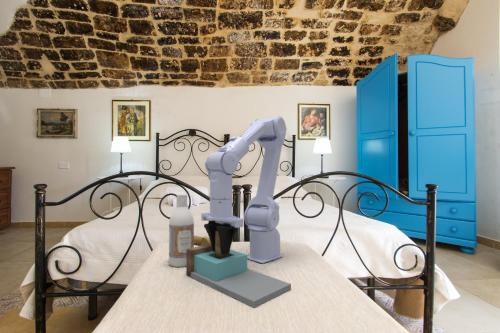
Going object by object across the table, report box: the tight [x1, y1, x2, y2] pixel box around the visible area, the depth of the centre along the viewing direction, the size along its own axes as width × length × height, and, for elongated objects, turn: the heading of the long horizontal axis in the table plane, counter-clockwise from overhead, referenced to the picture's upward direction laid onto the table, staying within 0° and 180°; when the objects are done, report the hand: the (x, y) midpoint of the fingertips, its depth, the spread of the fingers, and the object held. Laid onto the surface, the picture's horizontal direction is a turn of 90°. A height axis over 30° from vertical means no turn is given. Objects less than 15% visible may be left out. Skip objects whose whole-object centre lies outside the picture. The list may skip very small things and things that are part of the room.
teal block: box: [194, 249, 248, 281], centre depth 70 cm, size 10×9×4 cm
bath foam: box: [168, 193, 195, 268], centre depth 80 cm, size 7×7×20 cm
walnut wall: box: [185, 244, 213, 278], centre depth 74 cm, size 12×2×7 cm, turn 135°
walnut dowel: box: [215, 230, 227, 259], centre depth 70 cm, size 3×3×7 cm
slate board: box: [185, 268, 292, 308], centre depth 66 cm, size 12×24×1 cm, turn 45°
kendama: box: [194, 235, 211, 246], centre depth 97 cm, size 8×6×18 cm
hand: (220, 252), depth 70 cm, fingers closed on walnut dowel, 3 cm apart
